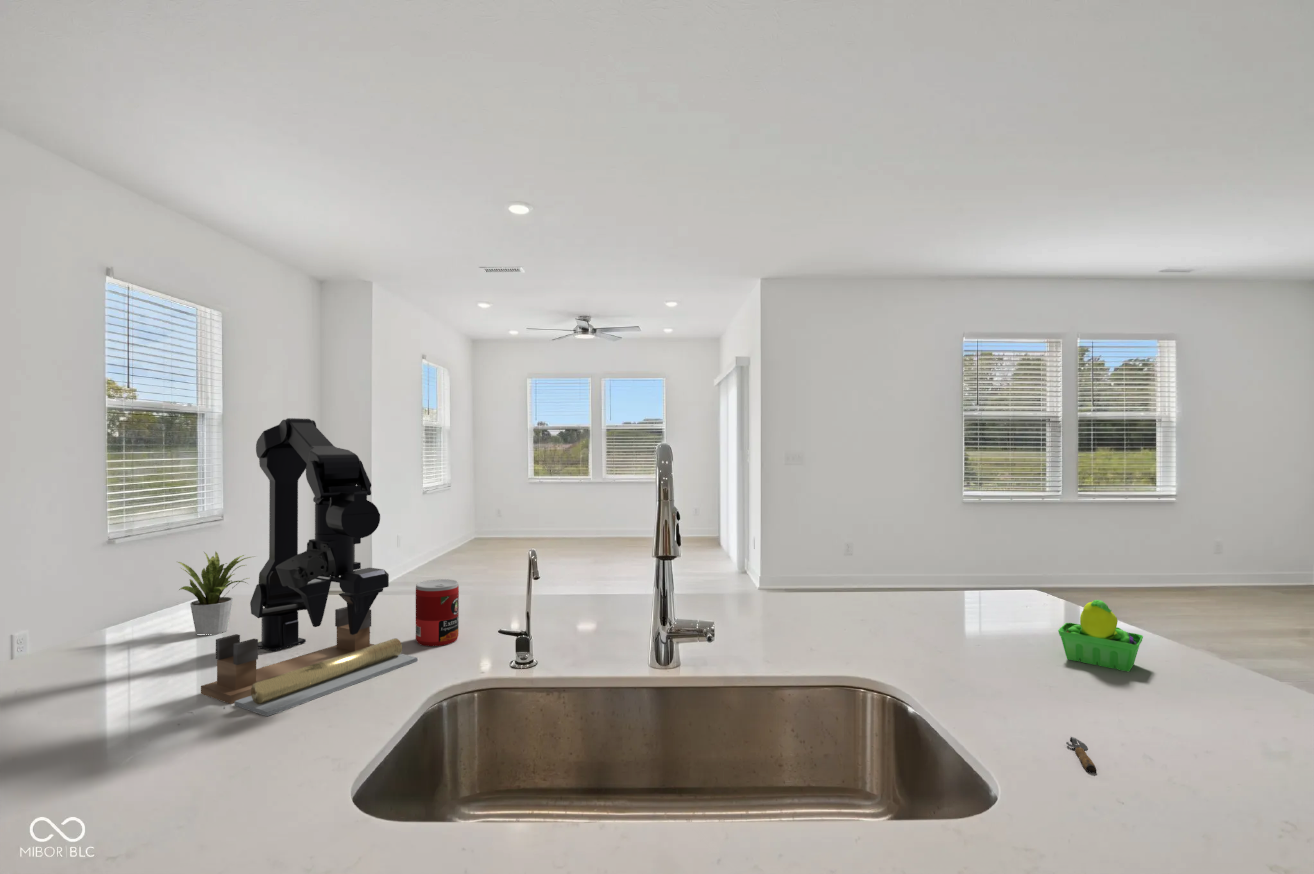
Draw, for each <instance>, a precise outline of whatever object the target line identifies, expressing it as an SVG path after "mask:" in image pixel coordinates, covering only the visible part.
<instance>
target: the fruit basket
mask: <svg viewBox="0 0 1314 874" xmlns="http://www.w3.org/2000/svg"><path fill="white" fill-rule="evenodd" d="M1079 618H1080V619H1079V623H1080V624H1079V623H1075V622H1064V623H1063V625H1062V626H1061V627H1059V628H1058V630H1057V631H1058V634H1059V636H1060V638H1061V642H1062V647H1063V650H1064V653H1065V656H1066V660H1069V661H1072V662H1073V661H1074V662H1080V663H1084V664H1088V665H1093V666H1099V667H1102V668H1108V669H1112V670H1113V669H1115V670H1118V671H1123V672H1128V673H1129V672H1131V669H1132V668H1133V666H1134V665H1135V661H1136V658H1137V655H1138V652H1139V649H1140V645H1141V643H1142V642H1143V639H1144V636H1143V635H1142V634H1139V633H1133V632H1129V631H1126V630H1123V629H1121V628H1120V627H1118V617H1117V616H1116V614H1114V612H1112V609H1110V608H1109V606H1108V604H1107V603H1105V602H1104V601H1103V600H1101V599H1094V600H1093V601H1088V602H1087V603H1086V604H1085V605H1084V606H1083V609H1082V611H1081V613H1080V617H1079Z"/></svg>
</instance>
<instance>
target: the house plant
mask: <svg viewBox="0 0 1314 874" xmlns="http://www.w3.org/2000/svg"><path fill="white" fill-rule="evenodd" d="M203 553H204V554H205V556H206V560H207V565H206V566H205V567H203V569H202V570H201V574H200V575H201V578H200V576H199V575H198V574H197V572H196V571H195V570H194V568H192V567H191V566H189V565H187V564H185V563H184V562H181V561H177V563H178V564H180V565H182V566H183V567H184V568H185V569H184V568H183V567H180V569H181V570H183V571H185V572H186V573H187V574H188V575H189V576H190V577H191V578H193V580H192V579H189V585H190V586H189V585H187V586H186V585H185V586H181V587H180V588H179V590H178V591H180V590H184V591H187V592H189V593H191V594H193V595H194V596H195V597H196V599H197V600H194V601H192V602H190V603H189V604H190V611H191V614H192V615H191V616H192V620H193V621H192V622H193V625H194V630H195V635H196V634H205V635H206V634H207V635H208V634H209V636H211V635H210V634H216V635H219V633H220V634H223V633H225V632H227V631H228V628H229V621H230V616H231V611H232V606H233V598H232V597H231V596H221V595H222V594H223V592H224V590H225V589H227V588H228V587H229V586H230V585H232V584H235V583H236V584H235V585H234V586H233V588H235V587H236V586H238V584H239V583H245V584H248V585H249V583H248V582H246V581H244V580H248V579H249V577H246V578H243V579H241V580H234V581H233V580H230V578H231V577H232V576H235V573H233V572H231V573H230V571H231V570H232V569H233V568H234V567H235V566H236V565H238V564H239V563H240V562H241V561H244V560H246V559H251V558H252V556H247V557H244V556H245V554H243V555H239V556H238V557H236V558H234V559H232V561H230V562H229V563H227V562H226V563H221V560H220V557H219V553H218V552H217V551H216V550H215V553H214V555H213V556H211V558H209V556H208V554H207V553H206V552H205V551H203ZM242 557H244V558H242ZM254 557H257V555H256V556H253V558H254ZM240 558H241V559H240ZM220 563H221V564H220ZM227 564H228V565H227ZM225 565H226V567H224V566H225ZM245 566H246V564H242V565H239V566H237V567H236V568H234V571H236V570H237V569H239V568H240V567H245ZM229 573H230V574H229ZM194 581H195V582H196V583H195V582H194ZM196 584H197V585H198V586H197V585H196ZM178 591H177V592H178ZM228 593H229V591H228V592H226V593H225V595H227V594H228ZM222 632H223V633H222Z"/></svg>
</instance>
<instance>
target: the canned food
mask: <svg viewBox="0 0 1314 874" xmlns="http://www.w3.org/2000/svg"><path fill="white" fill-rule="evenodd" d="M459 585H460V584H459V581H458V580H455V579H449V578H448V579H446V578H445V579H443V578H442V579H441V578H439V579H428V580H423V581H420V582H417V583H416V584H415V640H416V643H417V644H418V645H420V646H422V647H423V646H424V647H441V646H446V645H447V646H448V645H450V644H453V643H455V642H456V641H457V640H458V638H459V629H460V628H459V626H460V625H459V622H460V620H459V618H460V617H459V615H460V614H459V613H460V612H459V610H460V609H459V607H460V606H459V603H460V601H459V600H460V597H459V596H460V595H459V594H460V592H459V591H460V589H459V587H460V586H459Z"/></svg>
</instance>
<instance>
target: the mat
mask: <svg viewBox="0 0 1314 874" xmlns="http://www.w3.org/2000/svg"><path fill="white" fill-rule="evenodd" d="M416 662H418V656H413V655H409V654H404V653H401V654H400V655H398V656H395V657H392V658H390V659H387V660H384V661H381V662H378V663H375V664H372V665H370V666H367V667H364V668H361V669H358V670H355V671H352V672H349V673H347V674H344V675H341V676H338V677H335V678H332V679H329V680H327V681H324V682H321V683H318V684H315V685H312V686H309V687H307V688H304V689H301V690H298V691H295V692H292V693H289V694H287V695H284V696H281V697H278V698H275V699H272V700H269V701H266V702H264V703H261V704H256V703H255V702H254V701H253V699H252V696H248V697H245V698H242V699H239V700H236V701H235V703H234V707H235V706H236V707H239V708H242V709H244V710H248V711H250V712H253V713H257V714H260V715H262V716H265V717H268V716H273V715H274V714H278V713H280V712H283V711H286V710H289V709H291V708H293V707H294V708H295V707H296V706H299V705H302V704H305V703H307V702H310V701H312V700H315V699H318V698H321V697H324V696H326V695H329V694H332V693H334V692H337V691H339V690H342V689H345V688H348V687H351V686H354V685H356V684H359V683H361V682H364V681H367V680H370V679H372V678H375V677H377V676H380V675H383V674H386V673H389V672H391V671H393V670H396V669H399V668H402V667H405V666H407V665H410V664H413V663H416Z"/></svg>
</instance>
